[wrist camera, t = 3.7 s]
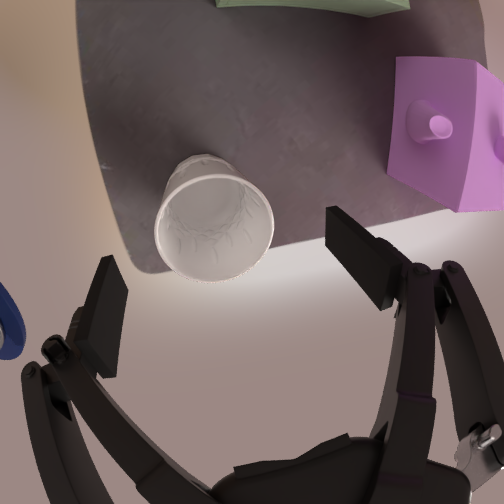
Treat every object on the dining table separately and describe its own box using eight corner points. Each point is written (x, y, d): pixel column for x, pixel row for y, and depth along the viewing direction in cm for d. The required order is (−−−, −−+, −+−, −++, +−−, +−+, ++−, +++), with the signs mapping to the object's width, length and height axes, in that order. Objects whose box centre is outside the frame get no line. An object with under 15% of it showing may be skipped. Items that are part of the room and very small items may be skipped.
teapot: (345, 41, 21) (451, 28, 9) (471, 92, 26) (544, 114, 14) (338, 173, 29) (429, 230, 17) (460, 179, 34) (526, 218, 22)
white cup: (251, 209, 28) (283, 261, 20) (178, 234, 28) (181, 297, 20) (230, 136, 24) (259, 157, 16) (150, 164, 24) (134, 201, 15)
